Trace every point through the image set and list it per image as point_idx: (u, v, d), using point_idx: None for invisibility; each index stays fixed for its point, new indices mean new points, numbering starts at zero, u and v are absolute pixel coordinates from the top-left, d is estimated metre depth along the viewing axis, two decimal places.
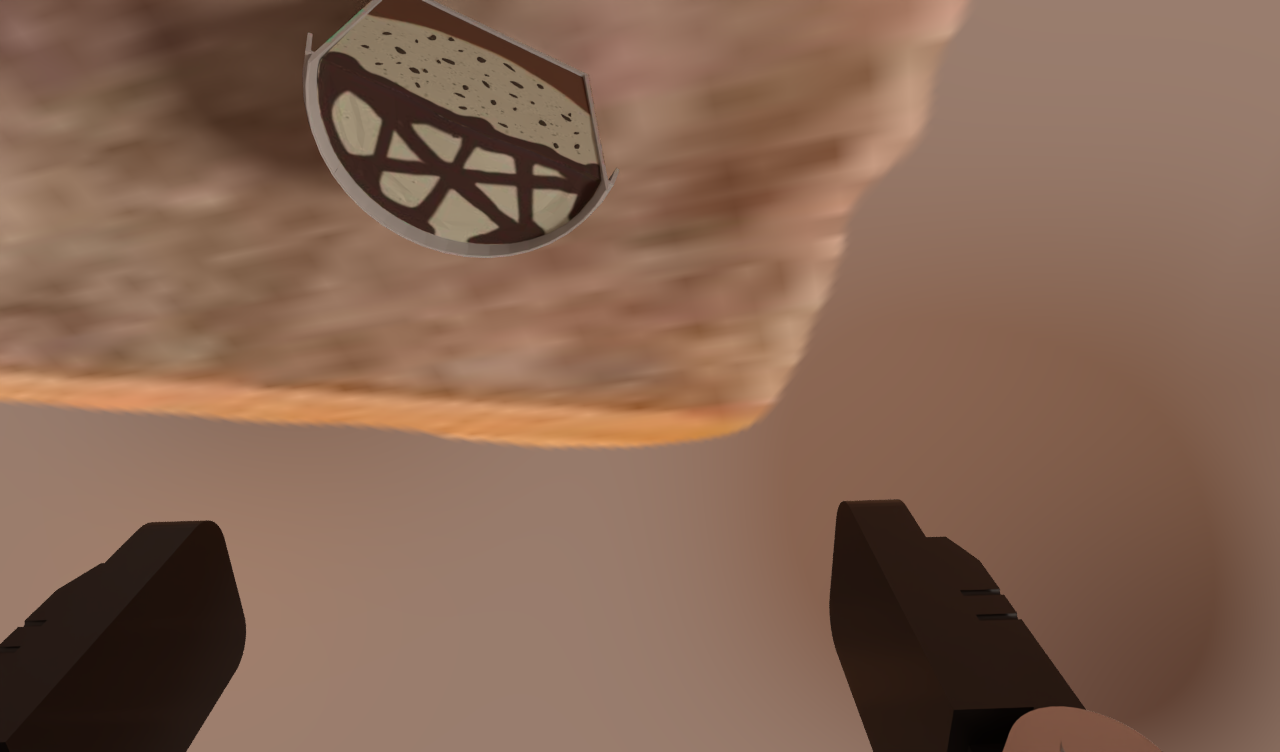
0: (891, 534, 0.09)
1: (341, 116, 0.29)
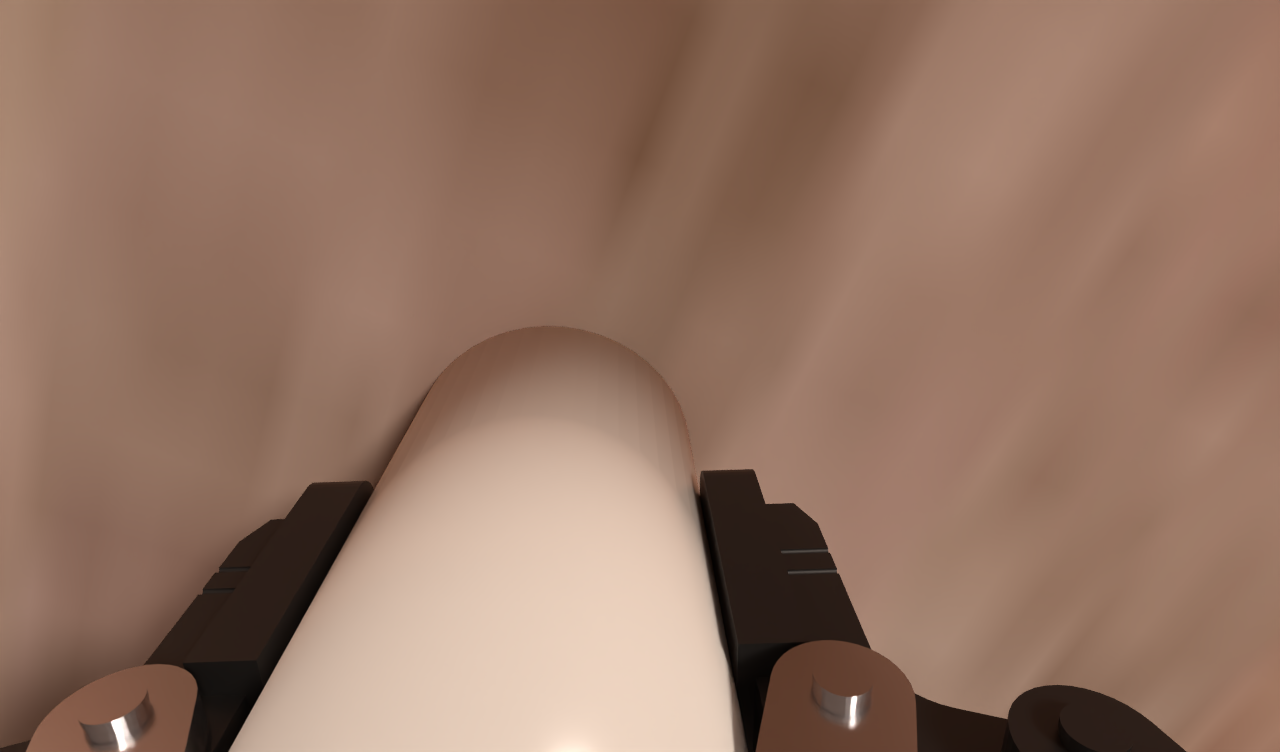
0: (733, 499, 0.10)
1: None
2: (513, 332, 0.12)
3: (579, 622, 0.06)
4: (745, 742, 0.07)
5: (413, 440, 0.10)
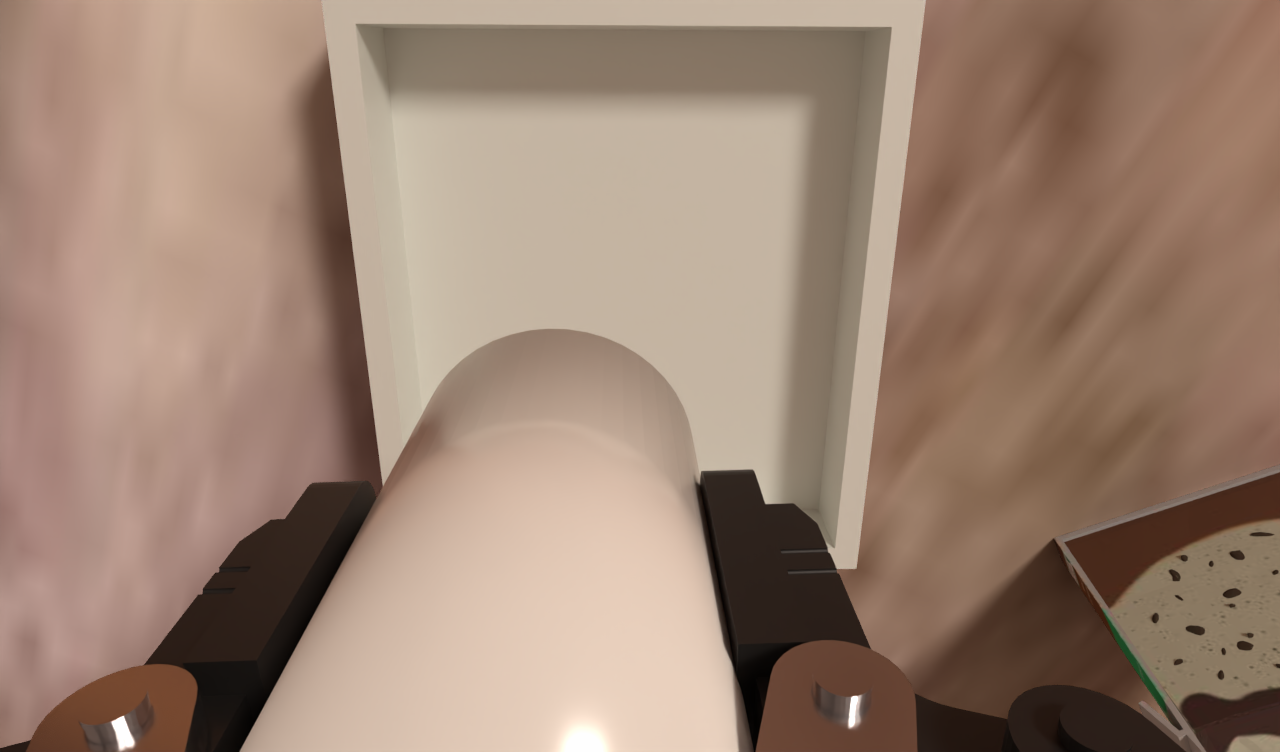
0: (733, 499, 0.10)
1: None
2: (517, 334, 0.12)
3: (587, 626, 0.06)
4: (752, 745, 0.07)
5: (418, 443, 0.10)
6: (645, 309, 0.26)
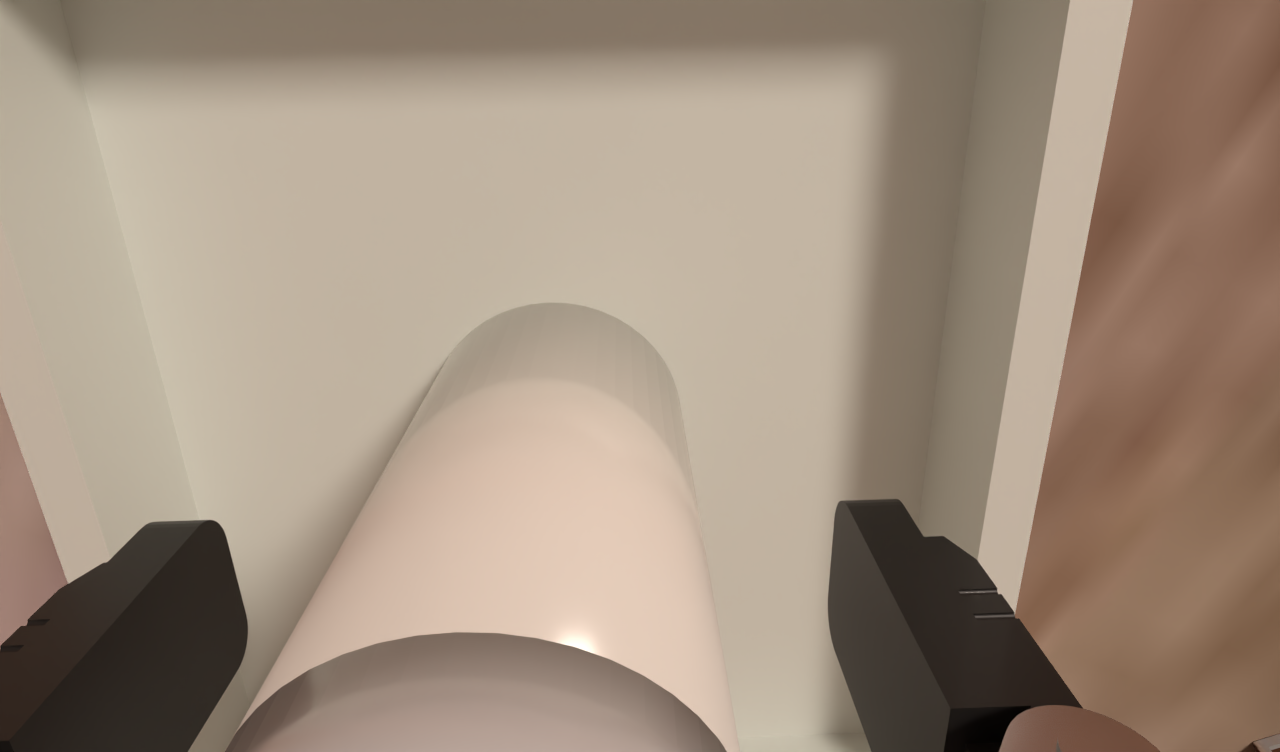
0: (889, 533, 0.09)
1: None
2: (521, 308, 0.14)
3: (580, 526, 0.08)
4: (719, 636, 0.08)
5: (434, 397, 0.11)
6: None
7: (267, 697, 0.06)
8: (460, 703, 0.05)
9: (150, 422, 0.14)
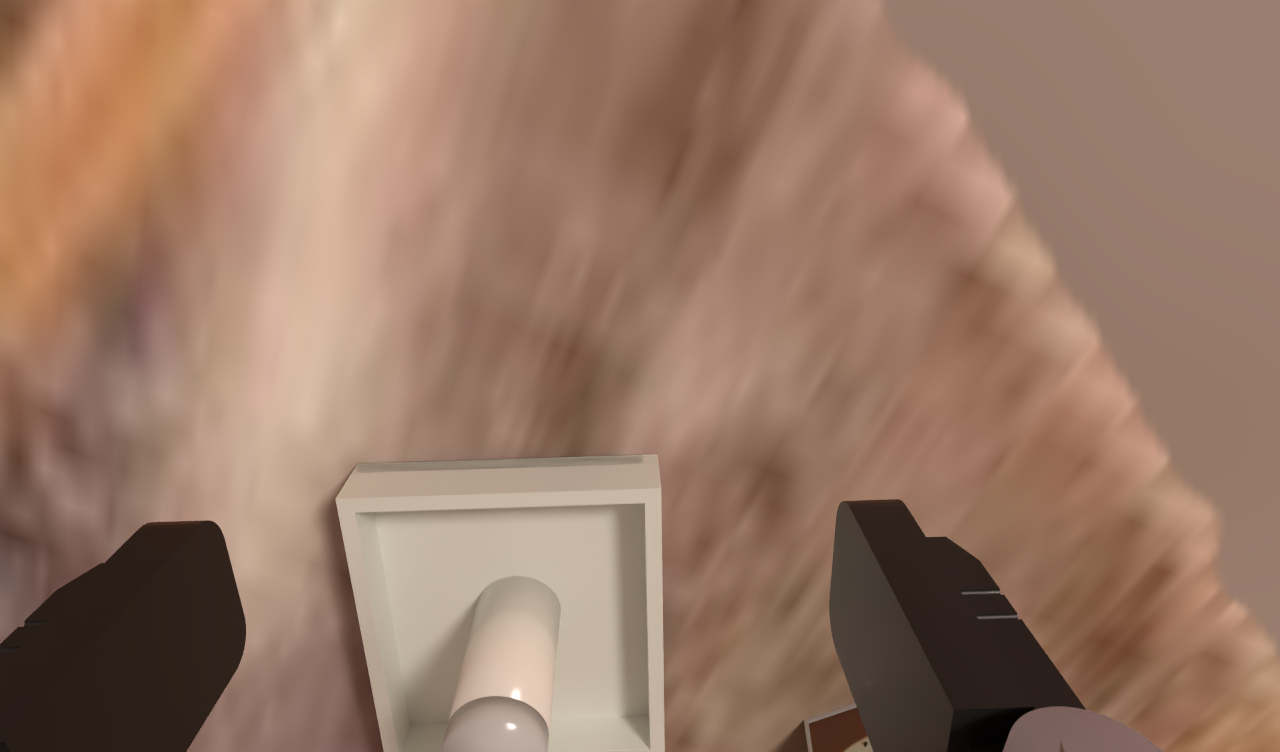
0: (891, 534, 0.09)
1: None
2: (506, 578, 0.43)
3: (516, 670, 0.37)
4: (549, 691, 0.37)
5: (481, 621, 0.40)
6: None
7: (459, 707, 0.35)
8: (494, 708, 0.34)
9: (387, 614, 0.43)
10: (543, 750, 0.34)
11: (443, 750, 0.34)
